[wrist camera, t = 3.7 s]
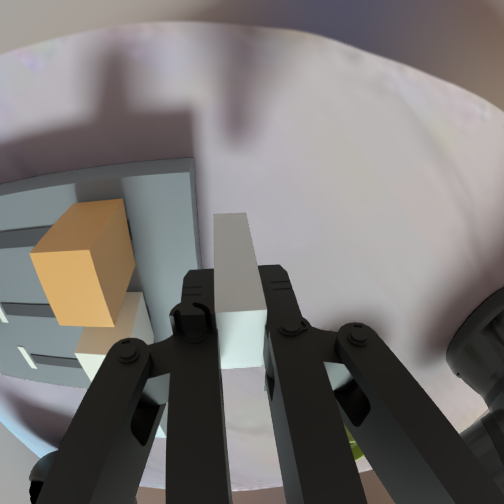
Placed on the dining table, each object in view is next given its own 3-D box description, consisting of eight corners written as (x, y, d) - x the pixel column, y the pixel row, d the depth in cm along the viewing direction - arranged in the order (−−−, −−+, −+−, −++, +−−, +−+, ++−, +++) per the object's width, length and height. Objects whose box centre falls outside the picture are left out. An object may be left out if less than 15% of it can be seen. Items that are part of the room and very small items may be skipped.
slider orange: (123, 198, 14) (89, 249, 10) (135, 264, 16) (114, 327, 12) (73, 203, 14) (29, 253, 10) (89, 265, 16) (59, 325, 12)
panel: (193, 157, 17) (188, 176, 14) (213, 366, 27) (213, 399, 24) (-62, 200, 15) (-86, 220, 12) (10, 354, 25) (-1, 379, 22)
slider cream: (142, 291, 18) (126, 355, 13) (154, 336, 20) (145, 398, 15) (98, 292, 17) (74, 352, 13) (114, 336, 19) (99, 394, 15)
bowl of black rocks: (145, 476, 47) (144, 553, 31) (58, 458, 43) (49, 530, 27) (132, 445, 37) (127, 552, 21) (22, 417, 33) (2, 511, 17)
